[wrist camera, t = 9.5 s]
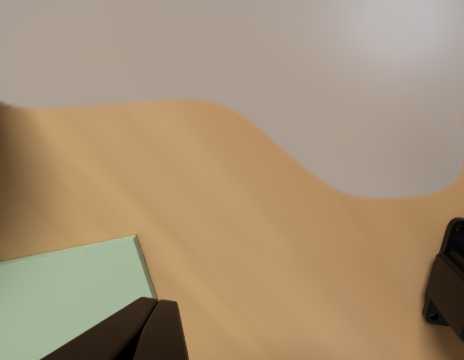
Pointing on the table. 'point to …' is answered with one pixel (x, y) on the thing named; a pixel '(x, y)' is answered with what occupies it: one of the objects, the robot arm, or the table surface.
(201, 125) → the table surface
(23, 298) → the green mat
